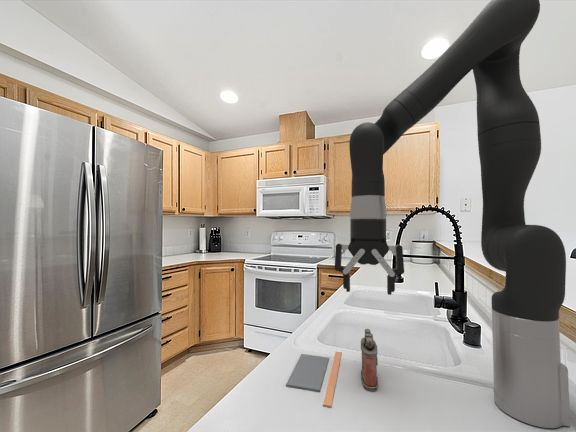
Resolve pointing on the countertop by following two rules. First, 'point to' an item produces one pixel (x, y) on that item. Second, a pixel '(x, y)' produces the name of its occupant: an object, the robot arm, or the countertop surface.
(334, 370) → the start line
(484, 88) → the robot arm
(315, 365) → the mat
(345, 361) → the countertop surface
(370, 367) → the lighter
